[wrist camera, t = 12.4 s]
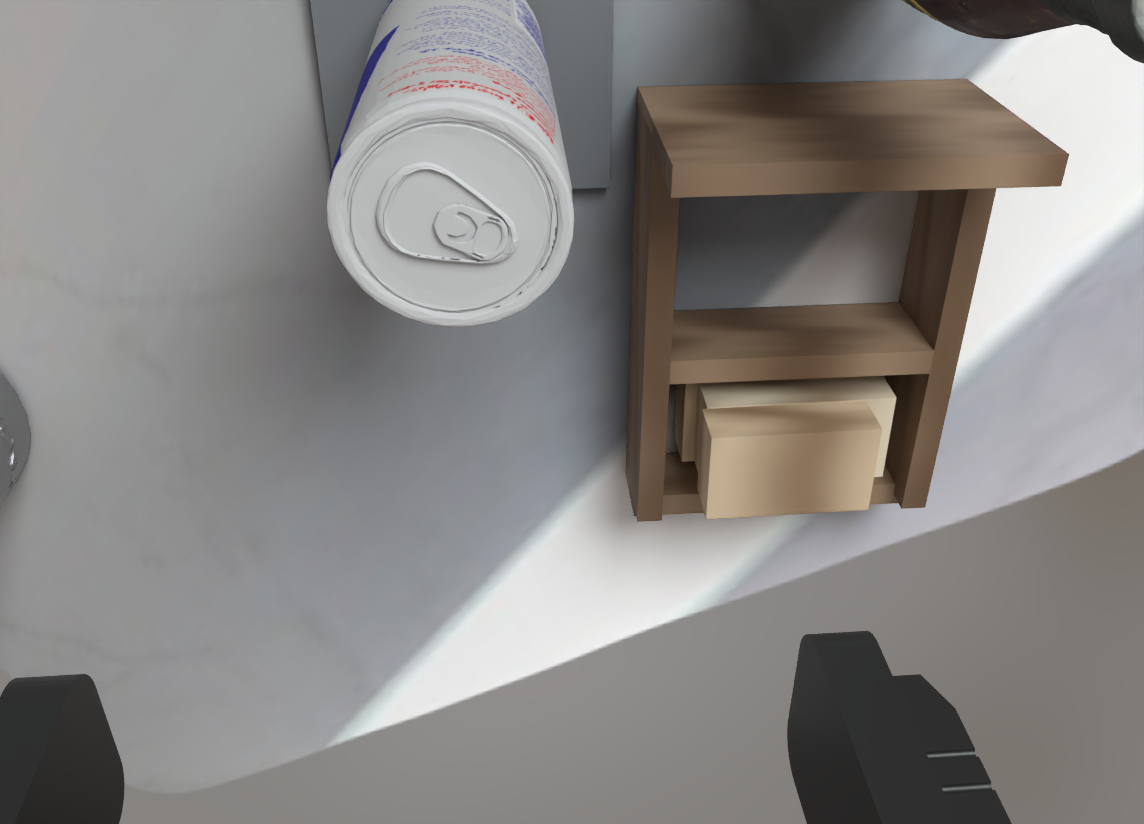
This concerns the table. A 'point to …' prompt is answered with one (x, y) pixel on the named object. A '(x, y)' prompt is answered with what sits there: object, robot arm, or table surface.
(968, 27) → the sauce bottle
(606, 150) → the rubber mat
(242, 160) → the table surface
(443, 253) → the beverage can
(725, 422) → the offcut stack
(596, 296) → the table surface
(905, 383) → the tray
